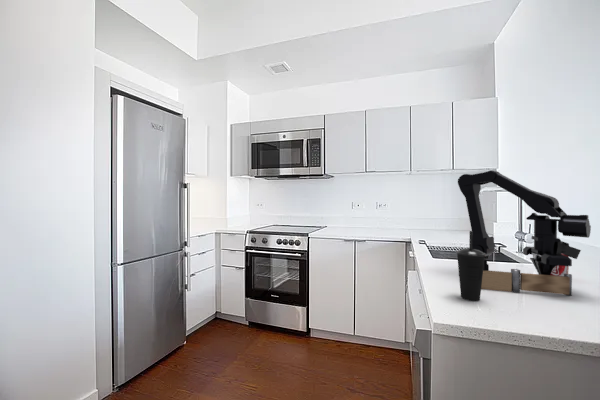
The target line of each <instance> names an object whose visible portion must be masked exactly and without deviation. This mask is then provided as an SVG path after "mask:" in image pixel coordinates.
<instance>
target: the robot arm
mask: <svg viewBox="0 0 600 400" xmlns="http://www.w3.org/2000/svg"><path fill="white" fill-rule="evenodd" d="M490 183H493V184H494V185H496V186H498V187H500V188H502V189H503V190H505V191H507V192H508V193H510V194H512V195H514V196H515V197H517V198H519V199H520V200H522V201H523V202H524V203H525V204H526V205H527V206H528V207H529V208H531V209H532V210H533V211H534V212H531V214H530V215H529V216H527V217H526V220H530V221H533V228H534V229H533V235H532V236H531V240H533V246H524V248H523V249H522V252H523V253H522V254H523V255H525V256H529V255H532V257H530V258H529V259H530V260H531V262H532V264H533V267H534V268H535V270H536V271H537V274H541V275H550V274H551V272H552V270H553V268H554V267H555V266H557V265H558V266H569V267H572V266H573V265H572V263H573V262H572V261H573V260H572V259H575V260H577V259H578V257H579V255H580V253H581V251H582V249H579V248H576V247H572V246H570V244H569V243H568V242H565V241H563V240H561V239H560V238H559V237H558V232H559V233H560V234H562V236H564V237H575V238H588V239H589V238H590V236H591V228H592V226H591V223H590V219H589V215H588V214H579V215H578V214H577V215H575V214H567V213H566V212H565V211H564V210H563V209H562V208H561V207H560V203H559V200H558V199H557V198H556V197H553V196H552V195H548V194H545V193H542V192H539V191H535V190H532V189H530V188H528V187H526V186H524V185H522V184H521V183H518V182H517V181H515V180H513V179H512V178H509V177H508V176H506V175H504V174H502V173H500V172H499V171H497V170H488V171H484V172H478V173H473V174H469V173H464V174H462V175H460V176H459V178H458V179H457V185H458V188H459V191H460V192H461V194H462V195H463V197H464V198H465V202H466V203H465V204H466V208H467V213H468V218H469V219H468V220H469V223H470V228H471V231H472V249H477V250H479V251H481V252H483V253H485V254H486V256H485V259H484V268H483V270H489V263H488V259H489V257H490V256H491V255H492V254H493V253H494V252H495V248H496V247H497V245H496V244H495V237H494V236H489V234H488V233H487V230H486V224H485V219H484V215H483V210H482V205H481V199H480V192H481V189H482V188H481V187H482V186H481V185H486V184H490ZM537 213H538V214H537ZM550 217H551V218H550ZM562 254H564V255H562ZM565 255H566V256H565ZM568 256H569V257H568ZM489 271H490V270H489Z"/></svg>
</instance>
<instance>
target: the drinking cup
mask: <svg viewBox="0 0 600 400" xmlns="http://www.w3.org/2000/svg"><path fill="white" fill-rule="evenodd" d="M468 242H469V246H468V247H467V248H461V249H459V250H456V252H455V254H456V255H457V256H456V257H457V258H456V259H457V266H458V267H457V268H458V277H459V290H460V297H461V298H462V299H463V300H465V301H470V302H479V301H480V300H481V294H482V293H481V291H482V289H481V285H482V276H483V268H484V259H485V256H486V254H485V253H483V252H481V251H479V250H477V249H472V230H469V241H468ZM485 260H486V259H485Z"/></svg>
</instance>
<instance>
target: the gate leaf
mask: <svg viewBox="0 0 600 400" xmlns="http://www.w3.org/2000/svg"><path fill="white" fill-rule="evenodd" d="M569 289H570V278H569V277H567V276H554V275H541V274H538V273H528V272H527V273H526V272H520V291H527V292H534V293H535V292H538V293H548V294H556V295H557V294H558V295H564V294H567V295H569ZM567 295H566V296H567Z"/></svg>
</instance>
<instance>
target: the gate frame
mask: <svg viewBox="0 0 600 400" xmlns="http://www.w3.org/2000/svg"><path fill="white" fill-rule="evenodd" d="M520 273H521V270H520V269H517V268H516V269H515V268H511V269H510V271H501V270H500V271H499V270H483V276H482V285H481V290H489V291H490V290H491V291H497V292H498V291H499V292H510V293H515V294H520V293H521V289H520ZM564 276H567V277H569V278H570V289H569V295H567V294H563V296H566V297H567V296H568V297H571V296H572V295H573V294H572V293H573V292H572V291H573V289H572V288H573V284H572V283H573V275H572V274H570V273H568V274H564Z"/></svg>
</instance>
